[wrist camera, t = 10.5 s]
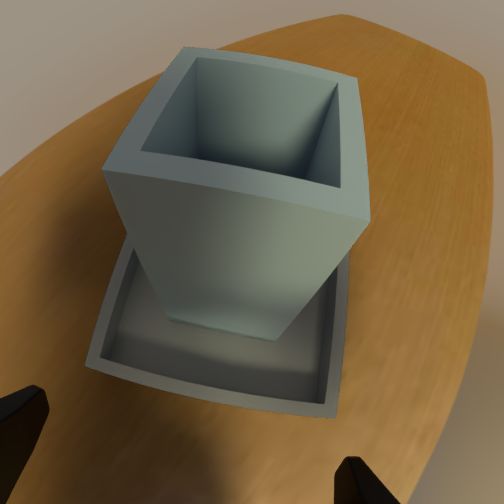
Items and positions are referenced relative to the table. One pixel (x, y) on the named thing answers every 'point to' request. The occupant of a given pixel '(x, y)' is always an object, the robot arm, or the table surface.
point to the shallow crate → (223, 348)
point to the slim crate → (241, 187)
